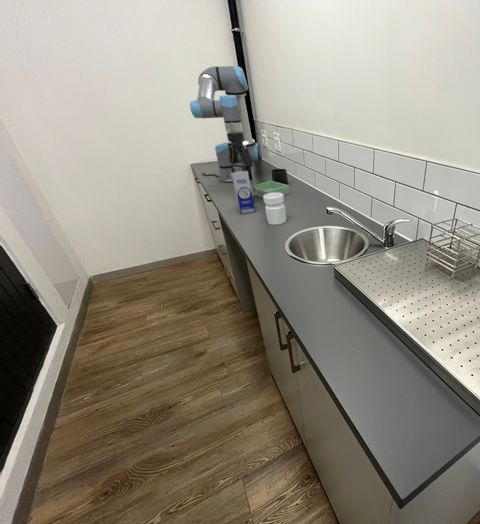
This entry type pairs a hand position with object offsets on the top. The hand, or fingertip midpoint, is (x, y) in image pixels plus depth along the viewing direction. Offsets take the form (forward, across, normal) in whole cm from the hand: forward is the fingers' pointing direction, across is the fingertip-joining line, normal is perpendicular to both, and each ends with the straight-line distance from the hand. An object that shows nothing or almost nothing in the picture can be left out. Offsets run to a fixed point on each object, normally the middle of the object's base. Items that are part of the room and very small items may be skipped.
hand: (244, 178), depth 151 cm
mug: (+13, -15, +33) cm, 39 cm away
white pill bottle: (+13, +34, -7) cm, 37 cm away
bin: (+13, -4, +17) cm, 22 cm away
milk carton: (+13, +11, -8) cm, 19 cm away
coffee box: (+9, 0, 0) cm, 9 cm away
